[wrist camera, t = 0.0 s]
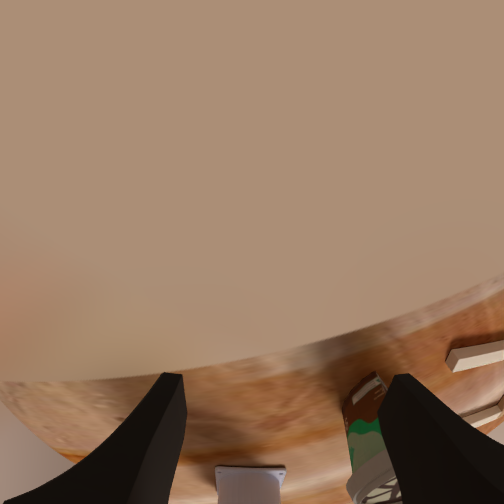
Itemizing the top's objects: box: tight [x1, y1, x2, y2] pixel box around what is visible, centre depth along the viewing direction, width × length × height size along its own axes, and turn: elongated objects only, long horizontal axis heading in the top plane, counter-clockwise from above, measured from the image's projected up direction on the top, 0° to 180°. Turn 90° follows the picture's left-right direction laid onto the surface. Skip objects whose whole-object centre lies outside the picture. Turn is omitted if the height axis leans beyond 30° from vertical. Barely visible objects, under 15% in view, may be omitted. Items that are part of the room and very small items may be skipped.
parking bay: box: [445, 340, 504, 428], centre depth 23 cm, size 14×18×2 cm
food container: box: [342, 371, 402, 504], centre depth 19 cm, size 12×6×10 cm, turn 37°
